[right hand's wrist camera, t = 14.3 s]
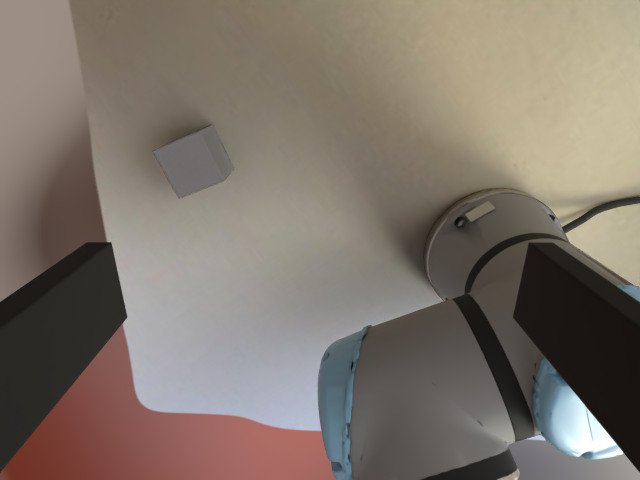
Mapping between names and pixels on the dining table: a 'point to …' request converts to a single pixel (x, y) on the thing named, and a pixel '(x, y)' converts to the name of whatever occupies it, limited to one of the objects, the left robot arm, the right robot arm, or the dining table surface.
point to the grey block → (194, 161)
